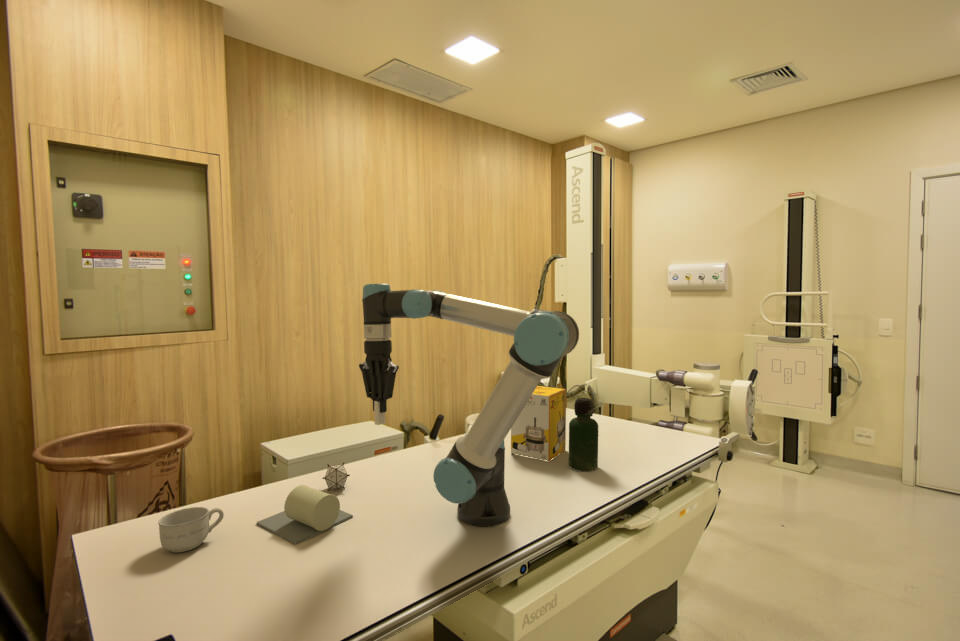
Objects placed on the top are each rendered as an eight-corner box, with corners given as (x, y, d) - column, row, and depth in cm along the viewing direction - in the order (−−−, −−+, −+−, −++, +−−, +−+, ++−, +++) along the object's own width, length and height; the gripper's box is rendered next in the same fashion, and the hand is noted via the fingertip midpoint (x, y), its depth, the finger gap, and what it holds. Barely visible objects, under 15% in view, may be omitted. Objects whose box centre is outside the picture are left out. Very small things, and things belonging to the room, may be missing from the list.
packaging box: (565, 450, 193) (566, 389, 192) (548, 462, 179) (549, 396, 178) (529, 443, 202) (529, 384, 200) (510, 454, 188) (511, 391, 187)
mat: (352, 517, 135) (352, 515, 134) (295, 544, 120) (295, 542, 120) (313, 501, 145) (313, 499, 145) (256, 524, 130) (256, 522, 130)
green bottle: (565, 469, 172) (566, 401, 170) (571, 460, 181) (572, 395, 180) (595, 474, 168) (596, 403, 166) (599, 464, 177) (600, 397, 176)
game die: (339, 502, 153) (339, 484, 147) (316, 490, 154) (315, 473, 148) (354, 480, 160) (355, 462, 154) (332, 469, 161) (333, 451, 155)
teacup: (156, 562, 112) (155, 529, 111) (162, 541, 121) (161, 510, 121) (223, 548, 118) (223, 516, 118) (224, 528, 128) (223, 499, 127)
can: (342, 492, 131) (313, 482, 137) (315, 496, 123) (286, 486, 130) (336, 527, 130) (307, 516, 136) (309, 533, 122) (279, 521, 128)
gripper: (350, 339, 133) (353, 423, 134) (386, 341, 126) (388, 429, 127) (370, 337, 139) (372, 417, 140) (404, 339, 132) (406, 423, 133)
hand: (380, 423), depth 134 cm, fingers closed
